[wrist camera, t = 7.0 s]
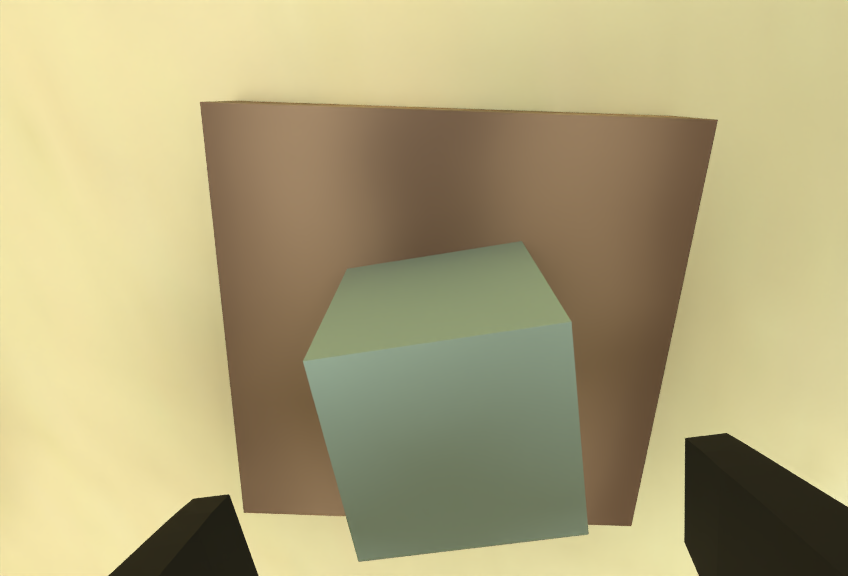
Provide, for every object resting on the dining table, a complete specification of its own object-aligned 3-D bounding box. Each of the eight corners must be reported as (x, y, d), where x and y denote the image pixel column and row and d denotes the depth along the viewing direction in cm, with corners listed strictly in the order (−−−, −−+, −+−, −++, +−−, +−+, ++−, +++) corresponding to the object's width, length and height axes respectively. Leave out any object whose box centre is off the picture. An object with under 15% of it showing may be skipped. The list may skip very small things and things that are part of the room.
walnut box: (664, 115, 15) (718, 119, 12) (601, 462, 19) (631, 526, 16) (243, 100, 15) (200, 101, 12) (271, 450, 19) (243, 512, 16)
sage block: (521, 241, 13) (571, 321, 9) (538, 394, 15) (587, 534, 10) (347, 268, 14) (302, 361, 9) (381, 416, 15) (358, 561, 10)
